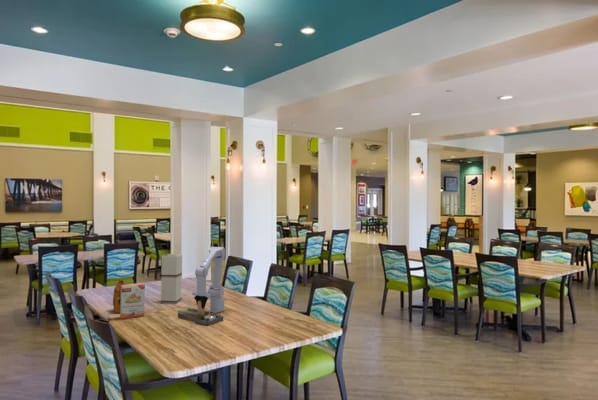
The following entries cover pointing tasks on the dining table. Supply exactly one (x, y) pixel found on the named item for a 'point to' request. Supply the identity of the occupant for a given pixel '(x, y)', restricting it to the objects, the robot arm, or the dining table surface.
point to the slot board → (191, 314)
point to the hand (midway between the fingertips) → (201, 307)
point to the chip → (206, 317)
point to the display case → (171, 278)
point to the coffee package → (117, 295)
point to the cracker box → (132, 300)
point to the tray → (206, 323)
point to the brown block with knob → (200, 309)
